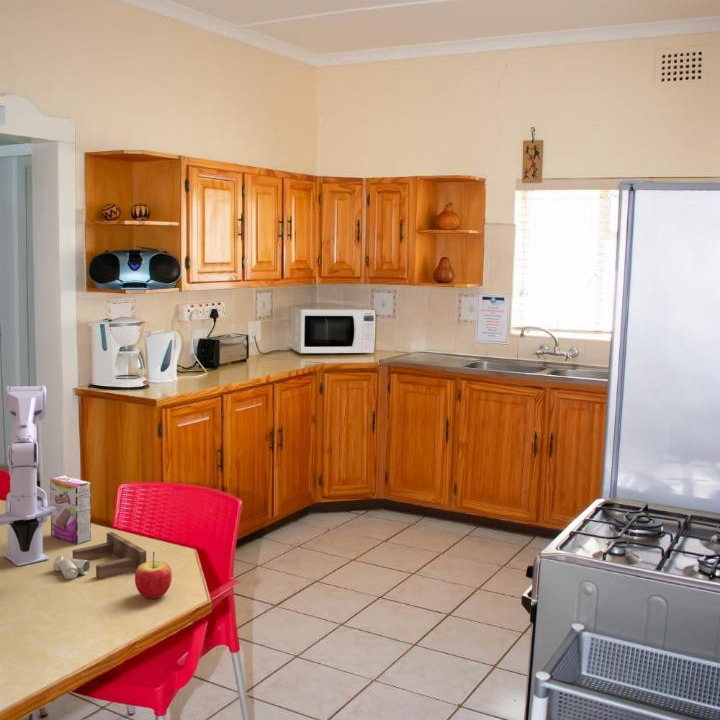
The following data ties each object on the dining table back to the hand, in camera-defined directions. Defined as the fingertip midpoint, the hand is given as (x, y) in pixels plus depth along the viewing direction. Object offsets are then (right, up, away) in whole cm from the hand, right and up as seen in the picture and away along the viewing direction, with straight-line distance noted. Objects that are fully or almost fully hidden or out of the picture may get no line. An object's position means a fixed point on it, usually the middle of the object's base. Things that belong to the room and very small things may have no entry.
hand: (24, 550), depth 199 cm
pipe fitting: (+7, -8, +8) cm, 14 cm away
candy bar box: (-1, -4, +33) cm, 34 cm away
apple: (+31, -10, -3) cm, 32 cm away
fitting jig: (+15, -7, +15) cm, 22 cm away
